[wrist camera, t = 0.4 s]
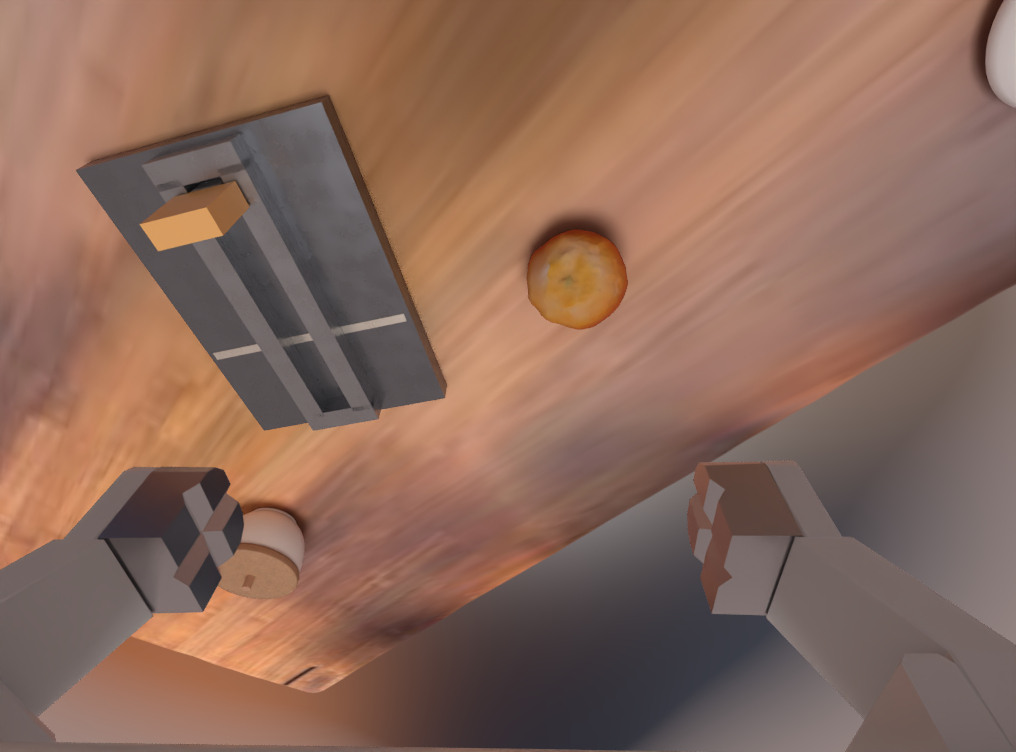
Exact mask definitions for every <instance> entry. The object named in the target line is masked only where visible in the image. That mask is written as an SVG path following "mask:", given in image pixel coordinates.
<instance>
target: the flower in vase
mask: <svg viewBox="0 0 1016 752" xmlns="http://www.w3.org/2000/svg"><path fill="white" fill-rule="evenodd" d="M985 65H986V74H987V78H988V82H989V84H990V86H991V88H992V91H993V92H994V93H995V94H996V96H997V97H998V98H999V99H1000V100H1002V101H1003V102H1004V103H1005V104H1007V105H1009V106H1011V107H1014V108H1016V0H1004V1H1003V2H1002V4H1001V6H1000V8H999V10H998V12H997V14H996V17H995V19H994V21H993V24H992V27H991V30H990V33H989V36H988V42H987V47H986V59H985Z"/></svg>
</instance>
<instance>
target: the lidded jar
mask: <svg viewBox="0 0 1016 752" xmlns="http://www.w3.org/2000/svg"><path fill="white" fill-rule="evenodd" d="M243 520H244V528H243V534H242V539H241V543H240V545H239V546H238V548H237V550H236V552H235V554H234V556H233V557H231V558H230V559H229V560H227V561H226V562H225V563H223V564H222V565H221V566H219V568H220V572H221V576H222V578H221V580H220V582H219V584H218V586H219V587H220V588H222V589H224V590H226V591H228V592H230V593H233V594H236V595H239V596H243V597H247V598H254V599H274V598H279V597H282V596H285V595H287V594H289V593H291V592H292V591H293V590H294V589H295V588H296V586H297V583H298V580H299V574H300V571H301V568H302V564H303V560H304V551H305V543H304V538H303V535H302V532H301V530H300V528H299V527H298V525H297V523H296V520H295V519H294V518H293V517H292V516H291V515H290V514H288V513H286V512H284V511H282V510H279V509H276V508H268V507H264V508H258V509H255V510H253V511H252V512H249V513H246V514H244V515H243Z"/></svg>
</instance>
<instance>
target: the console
mask: <svg viewBox="0 0 1016 752" xmlns="http://www.w3.org/2000/svg"><path fill="white" fill-rule="evenodd" d="M76 171H77V173H78V174H79V176H80V177H81V178H82V180H83V181H84V183H85V184H86V185H87V187H88V188H89V189H90V191H91V192H92V194H93V195H94V196H95V198H96V199H97V200H98V202H99V203H100V205H101V206H102V207H103V209H104V210H105V211H106V213H107V214H108V216H109V217H110V218H111V220H112V221H113V223H114V224H115V225H116V227H117V228H118V229H119V231H120V232H121V234H122V235H123V236H124V238H125V239H126V240H127V242H128V243H129V245H130V246H131V247H132V249H133V250H134V252H135V253H136V254H137V256H138V257H139V258H140V260H141V261H142V263H143V264H144V265H145V267H146V268H147V269H148V271H149V272H150V274H151V275H152V276H153V278H154V279H155V281H156V282H157V283H158V285H159V286H160V287H161V289H162V290H163V292H164V293H165V294H166V296H167V297H168V298H169V300H170V301H171V303H172V304H173V305H174V307H175V308H176V310H177V311H178V312H179V314H180V315H181V316H182V318H183V319H184V321H185V322H186V323H187V325H188V326H189V327H190V329H191V330H192V332H193V333H194V334H195V336H196V337H197V338H198V340H199V341H200V343H201V344H202V345H203V347H204V348H205V350H206V351H207V352H208V354H209V355H210V356H211V358H212V359H213V361H214V362H215V363H216V365H217V366H218V367H219V369H220V370H221V372H222V373H223V374H224V376H225V377H226V379H227V380H228V381H229V383H230V384H231V385H232V387H233V388H234V390H235V391H236V392H237V394H238V395H239V396H240V398H241V399H242V401H243V402H244V403H245V405H246V406H247V408H248V409H249V410H250V412H251V413H252V414H253V416H254V417H255V419H256V420H257V421H258V423H259V424H260V425H261V427H262V428H263V430H270V429H276V428H281V427H287V426H292V425H298V424H303V423H309V425H310V426H311V428H312V430H313V431H314V430H320V429H325V428H331V427H336V426H342V425H348V424H353V423H359V422H365V421H370V420H376V419H379V415H380V412H381V409H387V408H392V407H398V406H403V405H409V404H414V403H420V402H425V401H431V400H437V399H442V398H445V394H446V388H447V384H446V382H445V379H444V377H443V374H442V372H441V369H440V367H439V365H438V362H437V360H436V357H435V355H434V352H433V350H432V347H431V345H430V342H429V340H428V338H427V335H426V333H425V330H424V328H423V325H422V323H421V320H420V318H419V315H418V313H417V311H416V308H415V306H414V303H413V301H412V298H411V296H410V293H409V291H408V288H407V286H406V284H405V281H404V279H403V276H402V274H401V271H400V269H399V266H398V264H397V261H396V259H395V257H394V254H393V252H392V249H391V247H390V244H389V242H388V239H387V237H386V234H385V232H384V229H383V227H382V225H381V222H380V220H379V217H378V215H377V212H376V210H375V207H374V205H373V202H372V200H371V198H370V195H369V193H368V190H367V188H366V185H365V183H364V180H363V178H362V175H361V173H360V171H359V168H358V166H357V163H356V161H355V158H354V156H353V153H352V151H351V148H350V146H349V144H348V141H347V139H346V136H345V134H344V131H343V129H342V126H341V124H340V121H339V119H338V117H337V114H336V112H335V109H334V107H333V104H332V102H331V99H330V97H329V95H328V96H324V97H321V98H317V99H314V100H310V101H306V102H303V103H299V104H296V105H292V106H288V107H285V108H281V109H278V110H274V111H271V112H267V113H263V114H260V115H256V116H253V117H249V118H245V119H242V120H238V121H235V122H231V123H227V124H224V125H220V126H217V127H213V128H209V129H206V130H202V131H199V132H195V133H191V134H188V135H184V136H181V137H177V138H174V139H170V140H166V141H163V142H159V143H156V144H152V145H148V146H145V147H141V148H138V149H134V150H130V151H127V152H123V153H120V154H116V155H112V156H109V157H105V158H102V159H98V160H95V161H91V162H89V163H88V164H86V165H84V166H82V167H80V168H79V169H77V170H76ZM218 178H221V179H222V181H223V182H224V184H225V183H229V182H233V181H236V183H237V185H238V187H239V189H240V190H241V192H242V194H243V196H244V198H245V199H246V201H247V203H248V205H249V208H248V210H247V211H246V212H245V213H244V214H243V215H242V216H241V217H240V218H239V219H238V220H237V221H236V222H235V223H234V225H233V226H232V227H231V228H230V229H229V230H228V231H227V232H226V233H225V234H224V235H223V236H219V237H215V238H211V239H207V240H203V241H198V242H194V243H190V244H186V245H182V246H178V247H174V248H170V249H166V250H162V251H158V250H157V249H156V247H155V246H154V245H153V243H152V242H151V240H150V239H149V237H148V236H147V234H146V233H145V232H144V230H143V229H142V227H141V226H140V224H141V223H142V222H143V221H144V220H146V219H147V218H148V217H149V216H151V215H152V214H153V213H154V212H156V211H157V210H158V209H159V208H160V207H162V206H163V205H164V204H165V203H167V202H168V201H169V200H170V199H172V198H173V197H175V196H179V195H183V194H186V193H190V192H191V191H192V190H193V189H195V188H196V187H197V186H198V185H199V184H201V183H202V182H206V181H210V180H214V179H218Z"/></svg>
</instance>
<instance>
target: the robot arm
mask: <svg viewBox="0 0 1016 752" xmlns="http://www.w3.org/2000/svg"><path fill="white" fill-rule="evenodd" d="M693 481H694V484H695V486H696V489H697V492H698V493H697V494H695V495H694V496H693V497H692V498H691V499H690V500H689V507H688V514H687V516H688V534H689V539H690V544H691V547H692V551H693V554H694V556H696V557H697V558H698V559H699V560H700V561H701V562H702V563H704V564H703V569H702V573H701V581H702V584H703V587H704V590H705V593H706V597H707V600H708V603H709V606H710V609H711V612H712V614H742V615H767V617H766V618H767V619H768V620H769V621H770V622H771V623H772V624H773V625H774V626H775V628H776V629H777V630H778V631H779V632H780V633H781V634H782V635H783V636H784V637H785V638H786V639H787V640H788V641H789V642H790V643H791V644H792V645H793V646H794V647H795V648H796V649H797V650H798V651H799V652H800V653H801V654H802V656H804V658H805V659H806V660H807V661H808V662H809V663H810V664H811V665H812V666H813V667H814V668H815V669H816V670H817V671H818V672H819V673H820V674H821V675H822V676H823V677H824V678H825V679H826V680H827V681H828V682H829V683H830V684H831V685H832V687H834V689H835V690H836V691H837V692H838V693H839V694H840V695H841V696H842V697H843V698H844V699H845V700H846V701H847V702H848V703H849V704H850V705H851V706H852V707H853V708H854V709H855V710H856V711H857V713H858V714H859V715H860V716H861V717H862V718H863V719H864V722H863V724H862V725H861V727H860V728H859V730H858V732H857V733H856V735H855V736H854V738H853V740H852V742H851V743H850V745H849V746H848V748H847V750H846V751H845V752H1016V645H1015V644H1013V643H1012V642H1011V641H1009V640H1008V639H1006V638H1005V637H1003V636H1002V635H1000V634H998V633H997V632H995V631H994V630H992V629H991V628H989V627H988V626H986V625H985V624H983V623H981V622H980V621H979V620H977V619H976V618H974V617H973V616H971V615H970V614H968V613H966V612H965V611H964V610H962V609H960V608H959V607H957V606H956V605H954V604H953V603H951V602H950V601H948V600H947V599H945V598H944V597H942V596H941V595H939V594H938V593H936V592H935V591H933V590H932V589H930V588H929V587H927V586H926V585H924V584H922V583H921V582H920V581H918V580H916V579H915V578H913V577H912V576H910V575H909V574H907V573H906V572H904V571H903V570H901V569H900V568H898V567H897V566H895V565H894V564H892V563H891V562H889V561H888V560H886V559H885V558H883V557H881V556H880V555H879V554H877V553H875V552H874V551H872V550H871V549H869V548H868V547H866V546H865V545H863V544H862V543H860V542H859V541H857V540H856V539H854V538H853V537H842V536H841V534H840V533H839V531H838V530H837V528H836V526H835V525H834V523H833V521H832V520H831V518H830V516H829V515H828V513H827V511H826V510H825V508H824V506H823V505H822V503H821V501H820V500H819V498H818V497H817V495H816V493H815V492H814V490H813V488H812V487H811V485H810V483H809V482H808V480H807V479H806V477H805V475H804V474H803V472H802V470H801V469H800V467H799V465H798V464H797V463H795V462H794V461H792V460H788V461H761V462H710V463H699V464H698V466H697V467H696V470H695V475H694V479H693ZM229 486H230V482H229V480H228V478H227V476H226V474H225V472H224V470H222V469H219V468H212V467H160V468H159V467H133V468H130V469H128V470H126V471H124V472H123V473H122V474H121V475H120V476H119V477H118V478H117V479H116V481H115V482H114V483H113V484H112V485H111V486H110V487H109V488H108V490H107V491H106V492H105V493H104V494H103V495H102V496H101V497H100V499H99V500H98V501H97V502H96V503H95V504H94V505H93V506H92V508H91V509H90V510H89V511H88V512H87V513H86V514H85V515H84V517H83V518H82V519H81V520H80V521H79V522H78V523H77V524H76V526H75V527H74V528H73V529H72V530H71V531H70V532H69V533H68V534H67V536H66V537H65V538H64V539H63V540H52V541H51V542H49V543H47V544H45V545H43V546H42V547H40V548H38V549H36V550H35V551H33V552H31V553H29V554H27V555H26V556H24V557H22V558H20V559H19V560H17V561H15V562H13V563H11V564H10V565H8V566H6V567H4V568H3V569H1V570H0V752H670V751H613V750H548V749H544V750H543V749H481V748H478V749H477V748H418V747H414V748H413V747H411V748H410V747H346V746H345V747H344V746H276V745H271V746H270V745H206V744H201V745H200V744H137V743H135V744H134V743H68V742H56V739H55V734H54V733H53V732H52V731H51V730H50V729H49V728H48V727H47V726H46V725H45V724H44V723H43V722H42V721H40V720H39V718H38V716H39V715H40V714H41V713H43V712H44V711H45V710H46V709H47V708H48V707H49V706H51V705H52V704H53V703H54V702H55V701H56V700H58V699H59V698H60V697H61V696H62V695H63V694H64V693H66V692H67V691H68V690H69V689H70V688H71V687H72V686H74V685H75V684H76V683H77V682H78V681H79V680H81V679H82V678H83V677H84V676H85V675H86V674H87V673H89V672H90V671H91V670H92V669H93V668H94V667H95V666H97V664H99V663H100V662H101V661H102V660H103V659H105V658H106V657H107V656H108V655H109V654H110V653H111V652H113V651H114V650H115V649H116V648H117V647H118V646H119V645H121V644H122V643H123V642H124V641H125V640H126V639H127V638H128V637H130V636H131V635H132V634H133V633H134V632H136V631H137V630H138V629H139V628H140V627H141V626H142V625H144V624H145V623H146V622H147V621H148V620H149V619H150V618H152V617H153V614H152V613H186V612H203V611H204V609H205V608H206V606H207V604H208V602H209V600H210V599H211V597H212V595H213V593H214V591H215V589H216V588H217V586H218V584H219V582H220V580H221V578H222V576H221V572H220V568H219V566H221V565H222V564H223V563H225V562H226V561H227V560H229V559H230V558H231V557H233V556H234V554H235V552H236V550H237V548H238V546H239V545H240V543H241V539H242V534H243V528H244V520H243V512H242V510H241V507H240V505H239V502H237V501H236V500H234V499H233V498H232V497H230V496H229V495H228V494H226V492H227V490H228V488H229ZM671 752H676V751H671Z"/></svg>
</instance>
